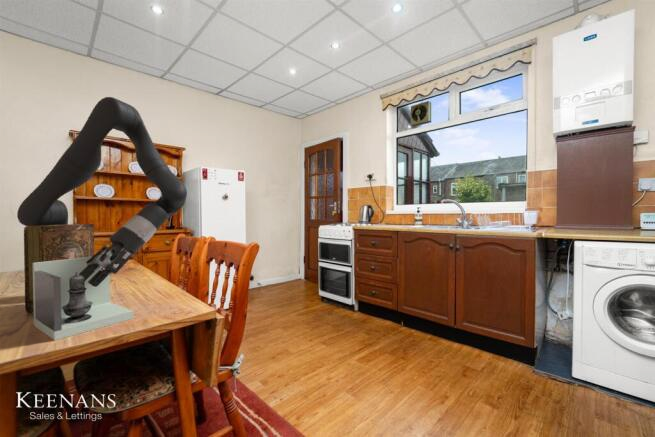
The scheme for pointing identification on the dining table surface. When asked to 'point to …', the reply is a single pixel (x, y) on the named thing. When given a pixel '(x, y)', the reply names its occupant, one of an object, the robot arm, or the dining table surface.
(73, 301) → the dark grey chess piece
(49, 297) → the shelf
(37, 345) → the dining table surface
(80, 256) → the book
